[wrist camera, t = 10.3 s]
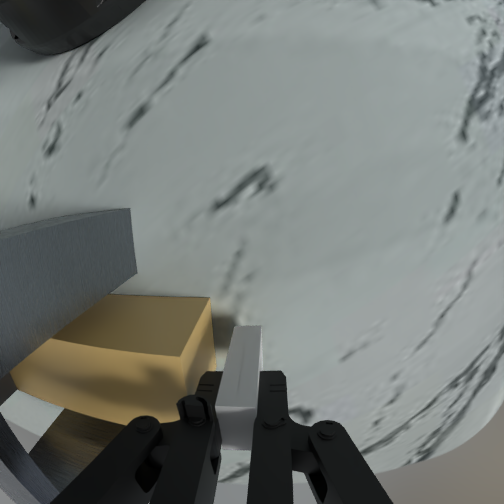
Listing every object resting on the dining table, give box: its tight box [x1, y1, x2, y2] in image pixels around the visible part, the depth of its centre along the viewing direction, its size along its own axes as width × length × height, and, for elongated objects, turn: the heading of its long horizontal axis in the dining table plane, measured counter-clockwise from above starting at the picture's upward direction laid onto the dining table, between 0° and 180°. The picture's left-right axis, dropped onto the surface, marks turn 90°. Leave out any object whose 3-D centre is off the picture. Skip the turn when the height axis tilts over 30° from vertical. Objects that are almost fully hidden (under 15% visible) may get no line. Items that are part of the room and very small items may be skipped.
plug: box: [0, 294, 216, 425], centre depth 13 cm, size 5×18×10 cm, turn 91°
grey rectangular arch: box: [0, 208, 137, 504], centre depth 11 cm, size 16×6×14 cm, turn 3°
